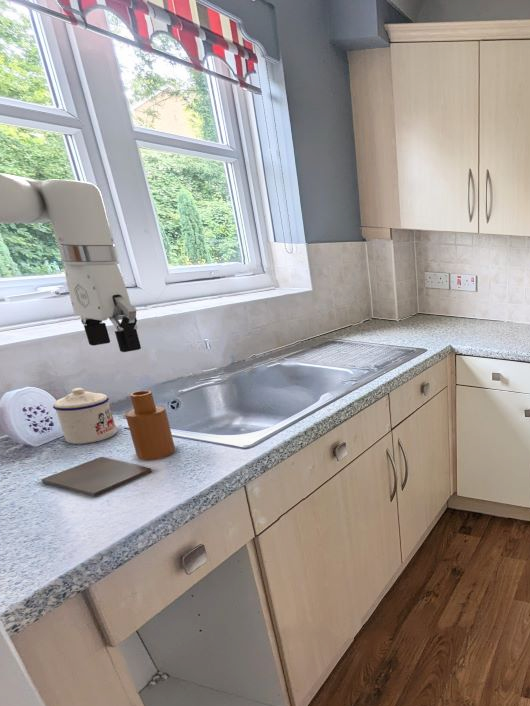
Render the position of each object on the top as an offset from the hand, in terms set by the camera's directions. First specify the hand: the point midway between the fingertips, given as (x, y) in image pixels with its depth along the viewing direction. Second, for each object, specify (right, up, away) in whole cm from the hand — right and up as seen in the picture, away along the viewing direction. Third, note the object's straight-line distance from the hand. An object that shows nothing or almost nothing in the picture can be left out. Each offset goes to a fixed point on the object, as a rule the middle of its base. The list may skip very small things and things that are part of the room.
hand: (115, 347), depth 88 cm
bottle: (-1, -22, +11) cm, 24 cm away
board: (-4, -26, +1) cm, 26 cm away
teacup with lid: (-21, -19, +18) cm, 34 cm away
